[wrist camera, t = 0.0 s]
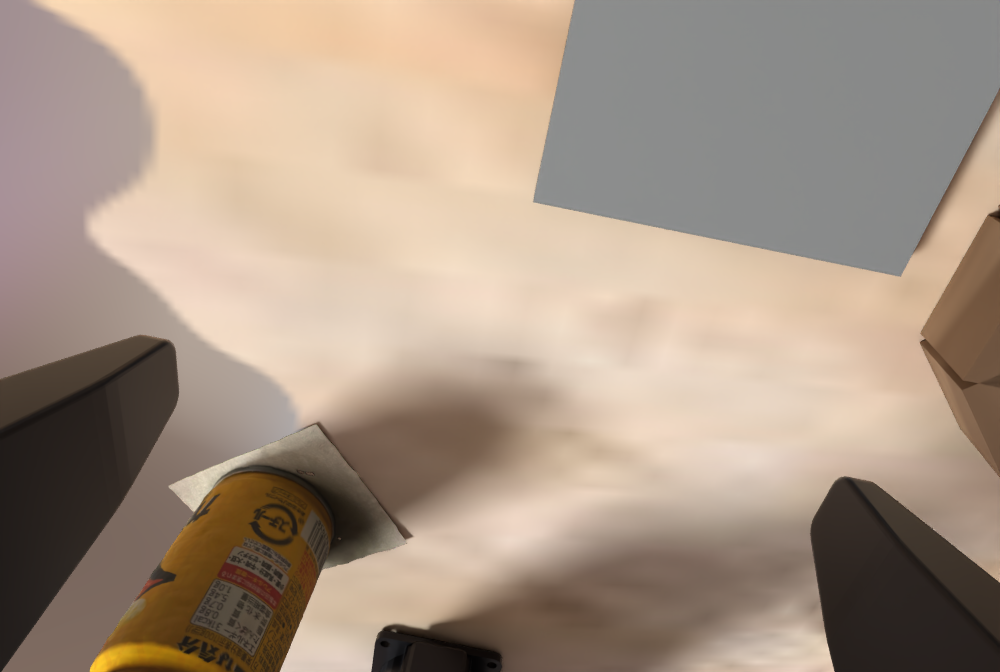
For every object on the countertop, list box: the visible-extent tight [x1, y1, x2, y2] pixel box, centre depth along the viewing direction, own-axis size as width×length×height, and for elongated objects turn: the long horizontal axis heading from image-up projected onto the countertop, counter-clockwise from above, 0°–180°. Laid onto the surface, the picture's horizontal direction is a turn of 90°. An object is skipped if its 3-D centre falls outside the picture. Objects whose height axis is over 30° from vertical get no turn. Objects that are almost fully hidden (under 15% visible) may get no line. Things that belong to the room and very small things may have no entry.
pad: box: [533, 0, 1000, 277], centre depth 19 cm, size 12×12×1 cm
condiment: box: [90, 424, 407, 672], centre depth 26 cm, size 7×8×12 cm
